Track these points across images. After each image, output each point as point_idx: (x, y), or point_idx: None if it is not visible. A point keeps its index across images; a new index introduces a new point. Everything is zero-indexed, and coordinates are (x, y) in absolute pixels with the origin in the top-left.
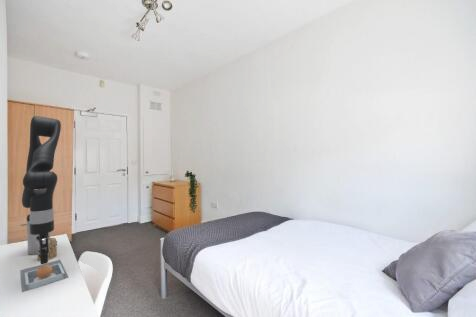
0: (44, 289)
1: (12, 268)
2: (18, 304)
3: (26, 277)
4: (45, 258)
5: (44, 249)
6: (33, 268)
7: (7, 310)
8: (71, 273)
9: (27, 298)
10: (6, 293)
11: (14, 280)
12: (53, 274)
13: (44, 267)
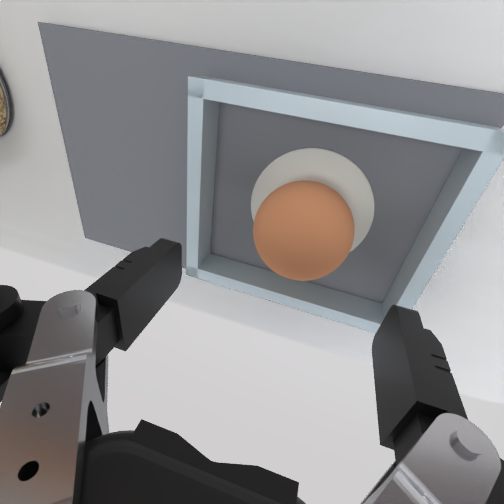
0: (472, 260)
1: (31, 237)
2: (496, 369)
3: (270, 296)
4: (446, 382)
5: (134, 293)
6: (101, 196)
7: (499, 399)
8: (413, 34)
9: (478, 334)
10: (303, 339)
11: (182, 280)
12: (316, 162)
13: (326, 261)
